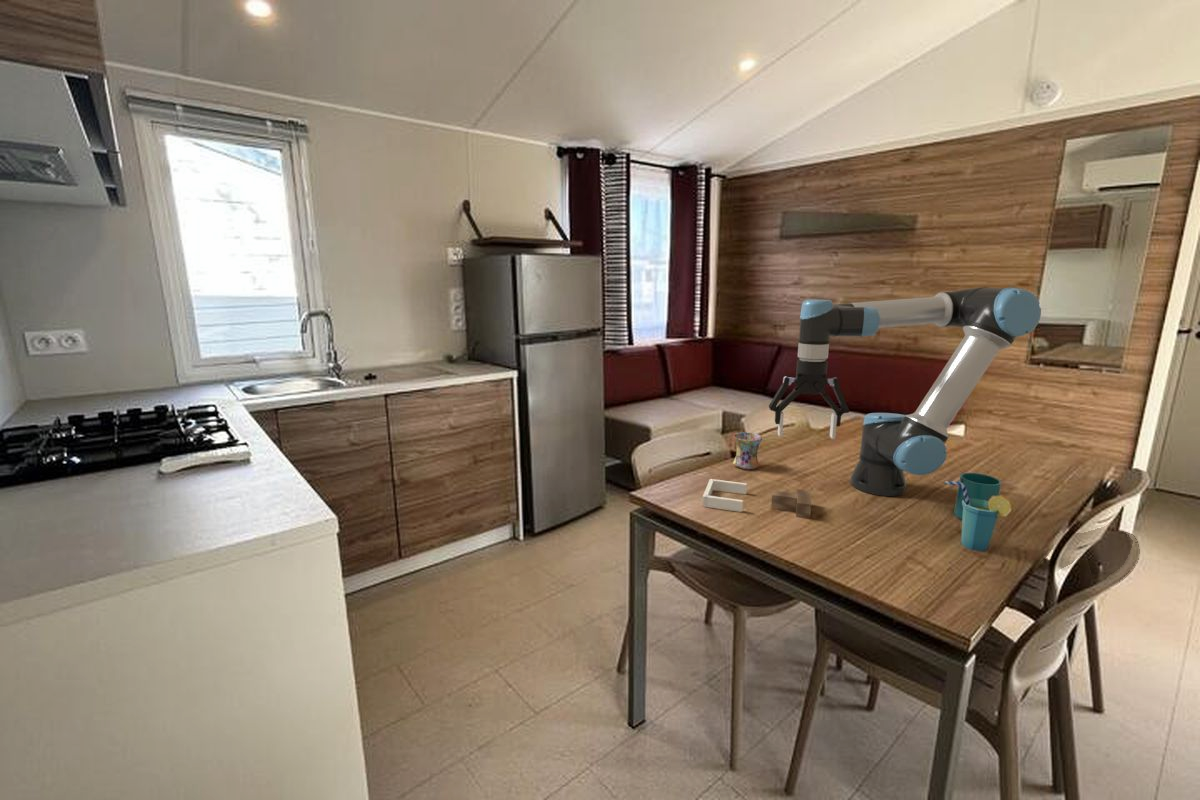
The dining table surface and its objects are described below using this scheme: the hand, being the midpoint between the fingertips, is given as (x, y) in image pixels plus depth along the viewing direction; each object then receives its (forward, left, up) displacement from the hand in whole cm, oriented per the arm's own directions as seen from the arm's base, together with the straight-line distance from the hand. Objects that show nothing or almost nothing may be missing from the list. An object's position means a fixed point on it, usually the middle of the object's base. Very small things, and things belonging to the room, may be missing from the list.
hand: (805, 436), depth 148 cm
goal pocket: (+20, +3, -20) cm, 28 cm away
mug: (+17, -29, -20) cm, 40 cm away
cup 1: (-45, -9, -20) cm, 50 cm away
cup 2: (-39, +10, -20) cm, 45 cm away
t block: (+2, +3, -20) cm, 21 cm away
